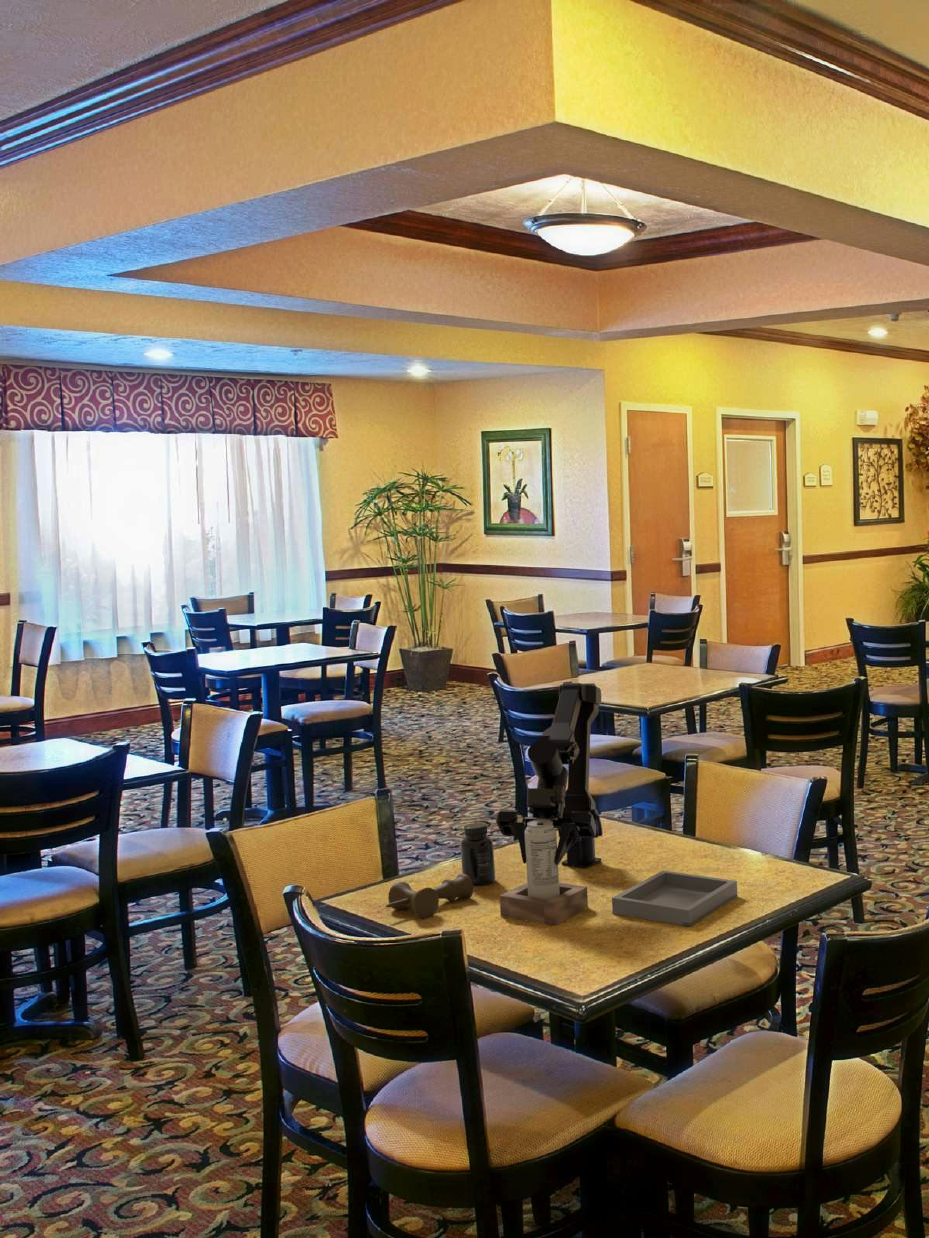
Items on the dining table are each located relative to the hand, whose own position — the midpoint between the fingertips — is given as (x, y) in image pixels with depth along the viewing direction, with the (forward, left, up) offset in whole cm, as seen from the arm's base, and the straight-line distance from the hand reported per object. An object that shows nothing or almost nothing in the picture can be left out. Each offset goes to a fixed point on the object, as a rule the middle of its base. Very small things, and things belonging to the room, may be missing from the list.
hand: (540, 862), depth 235 cm
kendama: (+7, -22, -10) cm, 25 cm away
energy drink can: (-1, 0, -8) cm, 8 cm away
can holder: (-1, 0, -10) cm, 10 cm away
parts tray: (-16, +20, -10) cm, 27 cm away
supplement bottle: (-11, -23, -10) cm, 28 cm away
